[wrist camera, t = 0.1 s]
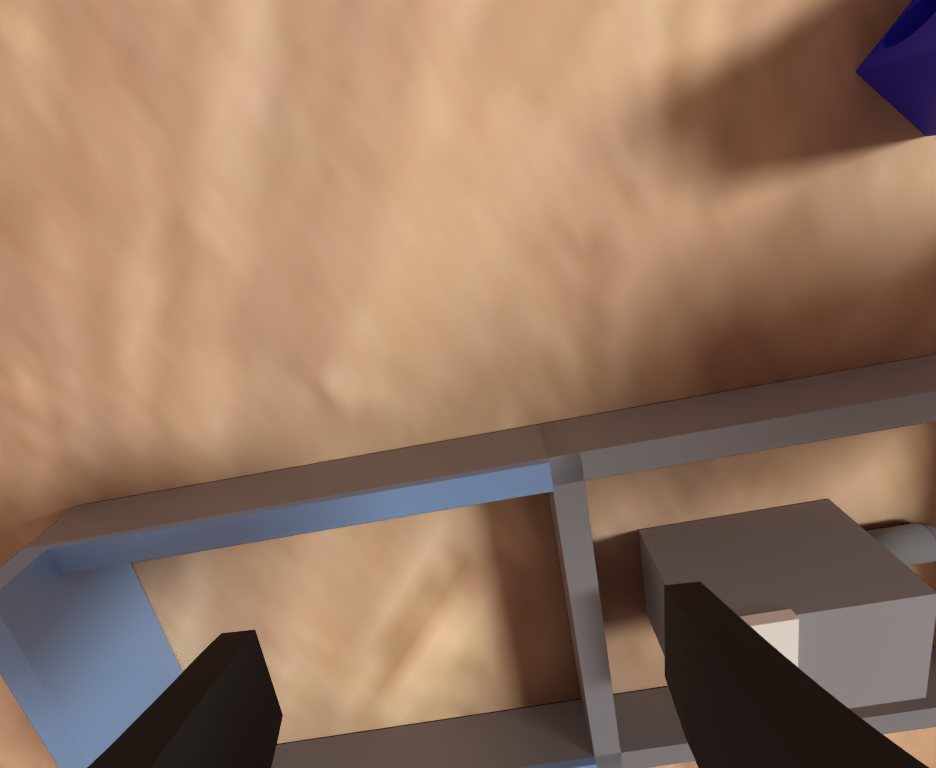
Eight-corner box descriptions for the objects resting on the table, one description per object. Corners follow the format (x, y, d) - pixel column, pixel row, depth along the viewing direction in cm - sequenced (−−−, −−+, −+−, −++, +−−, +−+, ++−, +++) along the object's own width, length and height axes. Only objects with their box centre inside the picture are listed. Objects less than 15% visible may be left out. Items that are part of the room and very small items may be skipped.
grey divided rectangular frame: (991, 656, 23) (1127, 778, 18) (207, 771, 25) (147, 909, 20) (1045, 335, 18) (1247, 386, 14) (75, 506, 20) (-44, 603, 15)
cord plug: (922, 572, 21) (1057, 686, 17) (646, 614, 22) (699, 737, 17) (932, 481, 20) (1083, 575, 15) (638, 528, 21) (692, 635, 16)
